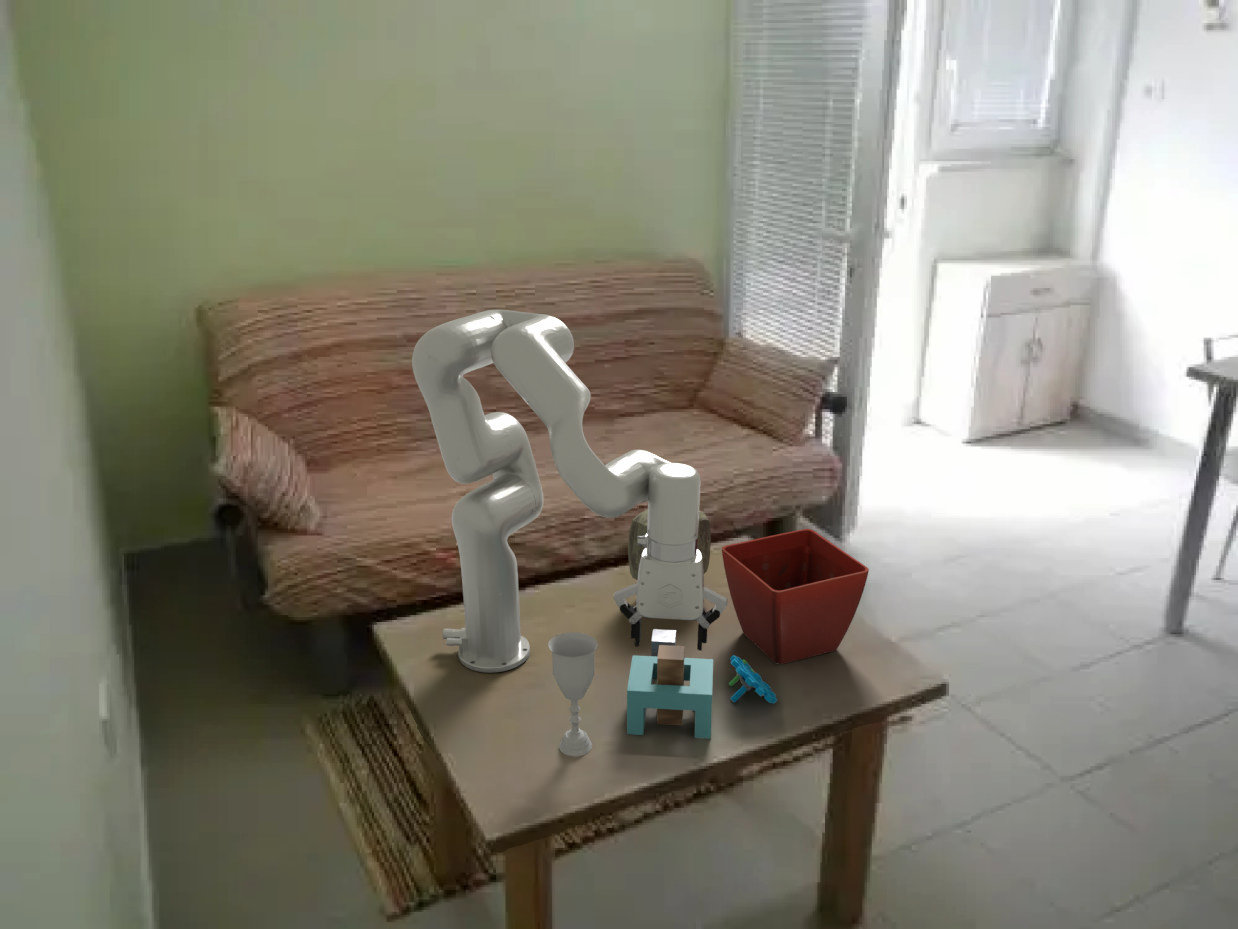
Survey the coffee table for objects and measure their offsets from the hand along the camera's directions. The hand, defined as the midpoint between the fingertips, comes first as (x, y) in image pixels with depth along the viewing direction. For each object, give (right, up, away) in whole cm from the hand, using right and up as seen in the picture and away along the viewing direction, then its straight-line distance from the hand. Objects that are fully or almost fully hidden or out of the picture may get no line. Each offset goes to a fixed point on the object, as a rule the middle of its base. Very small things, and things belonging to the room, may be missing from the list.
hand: (668, 644), depth 160 cm
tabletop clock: (+2, +2, +42) cm, 42 cm away
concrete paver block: (0, -7, +19) cm, 20 cm away
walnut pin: (0, -13, +5) cm, 13 cm away
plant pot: (+23, -4, +26) cm, 35 cm away
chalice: (-14, -15, -2) cm, 21 cm away
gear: (+14, -11, +10) cm, 20 cm away
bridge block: (+1, -13, +5) cm, 13 cm away
